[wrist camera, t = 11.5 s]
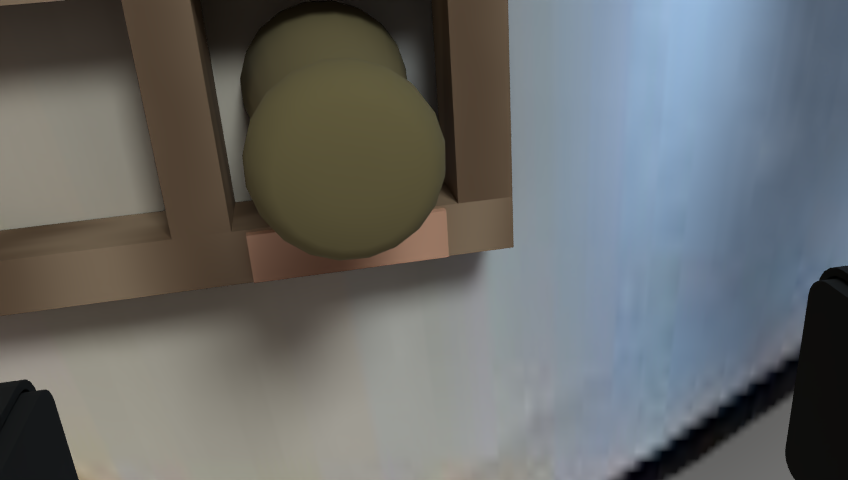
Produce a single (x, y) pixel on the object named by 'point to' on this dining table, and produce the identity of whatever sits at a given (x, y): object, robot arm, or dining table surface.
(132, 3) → the caddy
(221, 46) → the dining table surface
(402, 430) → the dining table surface
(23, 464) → the robot arm
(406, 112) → the olive tall rounded piece
